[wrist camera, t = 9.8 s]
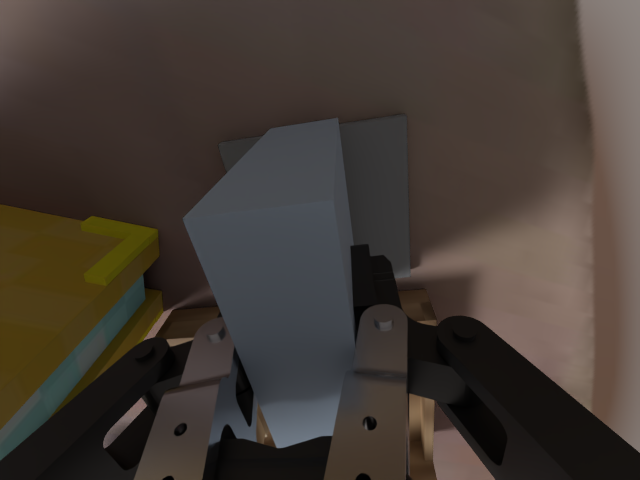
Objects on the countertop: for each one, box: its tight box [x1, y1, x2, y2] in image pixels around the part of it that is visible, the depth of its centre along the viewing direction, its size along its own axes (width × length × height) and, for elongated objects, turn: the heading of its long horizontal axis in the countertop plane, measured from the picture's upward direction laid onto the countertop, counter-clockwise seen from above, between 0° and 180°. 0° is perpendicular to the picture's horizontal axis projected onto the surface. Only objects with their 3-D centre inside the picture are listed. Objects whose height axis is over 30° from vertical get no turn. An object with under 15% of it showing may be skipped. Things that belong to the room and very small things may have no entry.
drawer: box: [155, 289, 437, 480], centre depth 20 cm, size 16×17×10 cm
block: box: [182, 118, 357, 448], centre depth 12 cm, size 10×3×9 cm, turn 9°
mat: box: [218, 114, 411, 278], centre depth 17 cm, size 9×9×1 cm
